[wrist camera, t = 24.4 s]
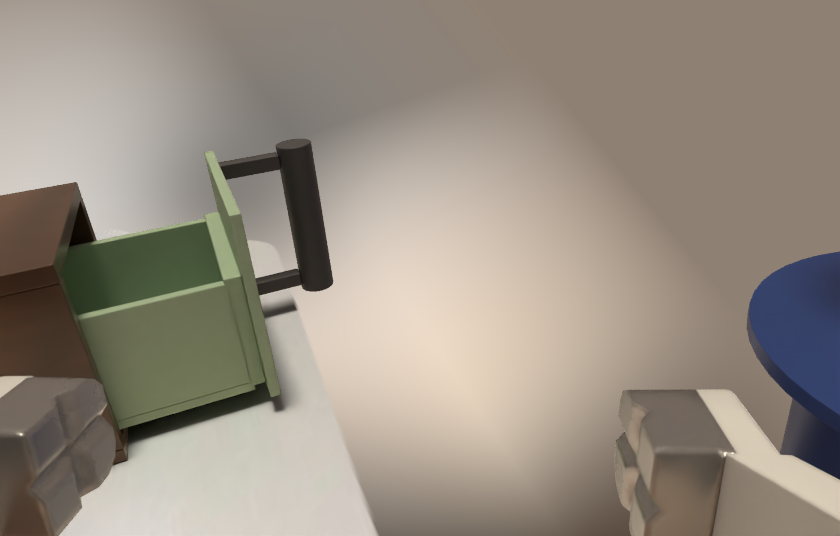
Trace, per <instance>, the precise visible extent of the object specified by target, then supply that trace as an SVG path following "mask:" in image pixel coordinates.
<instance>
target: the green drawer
mask: <svg viewBox="0 0 840 536" xmlns="http://www.w3.org/2000/svg"><path fill="white" fill-rule="evenodd" d="M276 151H277V153H276V152H274V153H268V154H263V155H257V156H252V157H246V158H241V159H235V160H230V161H224V162H219V163H218V161H217V159H216V157H215V154H214V152H213V151H211V152H205V153H204V154H205V158H206V162H207V167H208V171H209V175H210V179H211V183H212V187H213V192H214V196H215V200H216V204H217V209H218V212H214V213H210V214H205V215H204V216H205V219H200V220H196V221H190V222H186V223H181V224H176V225H171V226H166V227H162V228H157V229H152V230H147V231H142V232H137V233H132V234H127V235H123V236H118V237H113V238H108V239H103V240H98V241H94V242H89V243H84V244H79V245H74V246H69V247H68V251H67V256H66V260H65V264H64V268H63V272H62V277H63V279H64V282H65V285H66V287H67V290H68V293H69V295H70V298H71V301H72V303H73V306H74V309H75V311H76V314H77V317H78V319H79V322H80V324H81V327H82V330H83V332H84V335H85V338H86V340H87V343H88V346H89V348H90V351H91V354H92V356H93V359H94V362H95V364H96V367H97V370H98V372H99V375H100V378H101V380H102V383H103V385H104V388H105V391H106V393H107V396H108V399H109V401H110V404H111V407H112V409H113V412H114V415H115V417H116V420H117V423H118V425H119V428H120V429H123V428H127V427H130V426H133V425H137V424H140V423H144V422H147V421H150V420H154V419H157V418H161V417H164V416H167V415H171V414H174V413H177V412H181V411H184V410H188V409H191V408H194V407H198V406H201V405H205V404H208V403H211V402H215V401H218V400H222V399H225V398H228V397H232V396H235V395H238V394H242V393H245V392H249V391H252V390H255V385H257V384H260V383H264V382H266V384H267V387H268V390H269V393H270V396H271V397H274V396H277V395H280V394H281V392H280V387H279V383H278V378H277V374H276V369H275V365H274V360H273V356H272V351H271V347H270V342H269V338H268V333H267V329H266V324H265V320H264V315H263V311H262V306H261V302H260V297H259V295H263V294H267V293H271V292H275V291H279V290H283V289H287V288H291V287H294V286H299V285H302V287H303V289H304V290H306V291H321V290H324V289H327V288H329V287H330V286H331V285H332V284H333V277H332V271H331V265H330V259H329V253H328V246H327V240H326V234H325V228H324V222H323V215H322V209H321V202H320V196H319V190H318V184H317V177H316V171H315V165H314V159H313V152H312V147H311V141H310V140H307V139H292V140H287V141H283V142H280V143H278V144H277V145H276ZM274 170H280V172H281V177H282V183H283V188H284V194H285V199H286V204H287V210H288V215H289V221H290V226H291V231H292V236H293V242H294V247H295V253H296V258H297V264H298V268H299V270H298V269H293V270H289V271H285V272H281V273H277V274H272V275H268V276H264V277H260V278H256V279H255V275H254V270H253V266H252V261H251V257H250V252H249V248H248V244H247V239H246V235H245V231H244V226H243V221H242V217H241V213H240V211H239V209H238V206H237V204H236V202H235V200H234V197H233V195H232V193H231V190H230V188H229V186H228V184H227V181H226V180H227V179H232V178H237V177H243V176H248V175H253V174H259V173H264V172H269V171H274Z"/></svg>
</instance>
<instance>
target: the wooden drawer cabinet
mask: <svg viewBox="0 0 840 536" xmlns="http://www.w3.org/2000/svg"><path fill="white" fill-rule="evenodd" d="M94 241H97V240H96V237H95V234H94V231H93V228H92V226H91V223H90V220H89V217H88V214H87V211H86V208H85V205H84V202H83V199H82V197H81V193H80V190H79V187H78V184H77V183H76V182H74V183H69V184H63V185H58V186H53V187H47V188H41V189H35V190H30V191H24V192H19V193H13V194H7V195H2V196H0V377H3V376H33V377H62V378H87V379H95V380H96V381H98V382H99V383H100V384H102V385H103V383H102V380H101V378H100V375H99V372H98V370H97V367H96V364H95V362H94V359H93V356H92V354H91V351H90V348H89V346H88V343H87V340H86V338H85V335H84V332H83V330H82V327H81V324H80V322H79V319H78V317H77V314H76V311H75V309H74V306H73V303H72V301H71V298H70V295H69V293H68V290H67V287H66V285H65V282H64V279H63V277H62V272H63V268H64V264H65V260H66V256H67V251H68V247H69V246H74V245H79V244H84V243H89V242H94ZM103 388H104V385H103ZM104 392H105V396H106V399H107V403H108V404H107V405H106V407H105V409H104V411H103V413H102V414H101V416H102V417H103V418H104V419H105V420H106V421H107V422H108V423H109V424H110V425H111V426H112V427H113V430H114V435H115V440H116V449H115V458H114V461H113V464H115V463H119V462H122V461H125V460H127V442H128V427H127V428H123V429H120V428H119V425H118V423H117V420H116V417H115V415H114V412H113V409H112V407H111V404H110V401H109V399H108V396H107V393H106V391H105V388H104Z"/></svg>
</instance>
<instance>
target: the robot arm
mask: <svg viewBox="0 0 840 536" xmlns="http://www.w3.org/2000/svg"><path fill="white" fill-rule="evenodd" d="M107 404H108V403H107V399H106V396H105V392H104V388H103V385H102V384H100V383H99V382H98V381H96V380H95V379H87V378H62V377H33V376H3V377H0V536H59V535H60V533H61V532H62V531H63V530H64V529H65V527H66V526H67V525H68V524H69V523H70V521H71V520H72V519H73V518H74V517H75V515H76V514H77V513H78V512H79V510H80V509H81V508H82V504H81V497H82V496H83V495H85V494H87V493H89V492H91V491H93V490H94V489H96V488H98V487H99V486H100V485H101V484H102V482H103V481H104V480H105V479H106V477H107V476H108V475H109V473H110V470H111V467H112V464H113V461H114V458H115V449H116V440H115V435H114V430H113V427H112V426H111V425H110V424H109V423H108V422H107V421H106V420H105V419H104V418H103V417H102V416H101V414H102V413H103V411H104V409H105V407H106V405H107ZM619 418H620V420H621V423H622V426H623V428H624V431H625V432H624V433H623V434H622V435H621V436H620V437H619V438H618V439H617V440H616V447H615V479H616V484H617V490H618V494H619V497H620V500H621V504H622V505H623V506H624V507H625V508H627V509H628V510H629V511H630V512H631V514H630V524H629V529H630V531H631V535H632V536H840V480H839V479H837V478H835V477H833V476H831V475H829V474H827V473H826V472H824V471H822V470H820V469H818V468H816V467H814V466H812V465H810V464H808V463H806V462H804V461H802V460H800V459H798V458H797V457H795V456H793V455H780V453H779V452H778V451H777V449H776V448H775V447H774V445H773V444H772V443H771V442H770V440H769V439H768V438H767V436H766V435H765V434H764V432H763V431H762V430H761V428H760V427H759V426H758V424H757V423H756V422H755V420H754V419H753V418H752V416H751V415H750V414H749V412H748V411H747V410H746V408H745V407H744V406H743V404H742V403H741V402H740V400H739V399H738V398H737V396H736V395H735V394H734V392H732V391H730V390H727V389H715V390H624V391H623V392H622V396H621V399H620V407H619Z"/></svg>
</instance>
